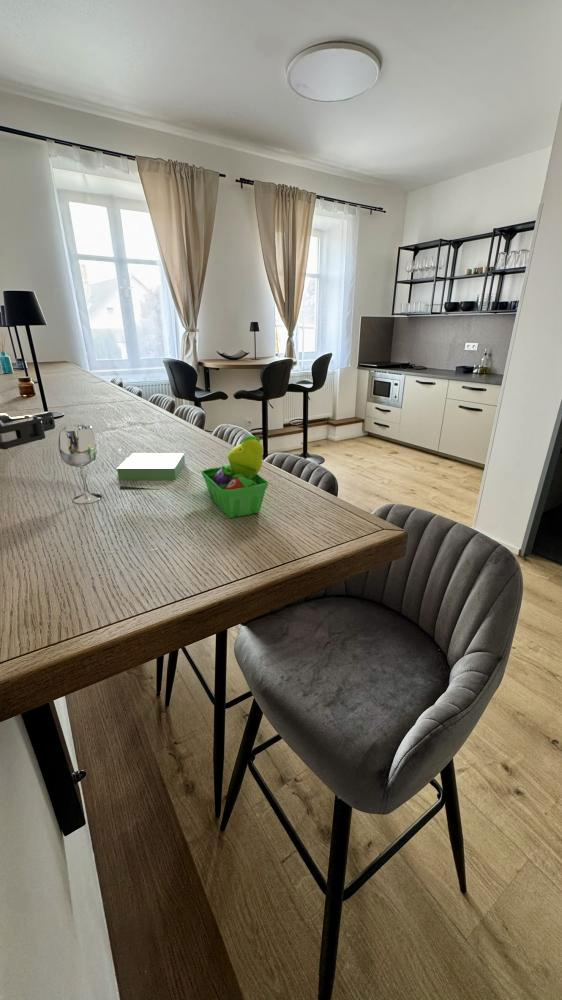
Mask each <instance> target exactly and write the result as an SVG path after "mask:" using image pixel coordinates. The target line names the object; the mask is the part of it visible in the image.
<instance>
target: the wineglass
mask: <svg viewBox="0 0 562 1000" xmlns="http://www.w3.org/2000/svg"><path fill="white" fill-rule="evenodd" d="M57 449H58V453H59V456H60V459H61V460H62V462H64V463H65V465H68V466H69V467H73V468H79V475H80V477H81V480H82V484H83V494H79V495H77V496H74V498H73V499H72V502H73V503H75V504H81V505H84V504H85V505H87V504H92V503H95V502H99V501H100V500H101V499H102V498H103V495H101V494H99V493H91V492H90V491H89V489H88V485H87V470H86V468H85V467H88V466H90V465H92V464H94V463H95V462H96V461H97V459H98V457H99V452H100V450H99V449H100V448H99V443H98V440H97V438H96V435H95V431H94V430H93V428H92V426H91V425H89V424H88V425H87V424H72V425H65V426H61V427H59V428H58V432H57Z"/></svg>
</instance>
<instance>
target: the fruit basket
mask: <svg viewBox="0 0 562 1000" xmlns="http://www.w3.org/2000/svg"><path fill="white" fill-rule="evenodd" d="M263 454H264V445H263V444H262V443H261V438H260V437H256V436H255V435H246V436H245V437H244V438H243V439H242V441H241V443H239V444H238V445H236V446H235V447H233V448H232V449H230V451H229V452H228V454H227V460H228V463H229V464H224V465H222V466H220V467H211V468H206V469H202V470H201V471H200V472H201V476H202V478H203V479H204V482H205V485H206V488H207V490H208V492H209V497H210V500H211V501H212V502H213V503H214V504H215V505H216V506H217V507H218V508H219V509H220V510H221V511H222V512H223V513H224V514H225V515H226V516H227V518H229V519H232V518H235V517H242V516H243V517H244V516H248V515H252V514H260V512H261V508H262V505H263V501H264V496H265V493H266V491H267V489H268V486H269V482H268V480H266V479H264V478H263V477H262V476H260V475H259V474H258V473H259V472H260V470H261V469H262V465H263Z"/></svg>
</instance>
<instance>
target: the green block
mask: <svg viewBox="0 0 562 1000" xmlns="http://www.w3.org/2000/svg"><path fill="white" fill-rule="evenodd" d="M185 461H186V459H185V453H184V452H183V453H181V452H177V453H176V452H172V453H171V452H170V453H169V452H164V453H161V452H159V453H158V452H156V453H155V452H154V453H153V452H152V453H151V452H150V453H149V452H148V453H147V452H144V453H143V452H141V453H140V452H139V453H138V452H134V453H132V454H130V456H129V457H127V458H126V459H125V460H124V461H123V462H122V463H121V464H120V465H119V466H117V468H116V472H117V478H118V481H176V480H177V479H178V477H179V475H180V473H181V472H182V470H183V468H184V466H185V465H186V462H185ZM119 490H120V491H140V490H141V491H143V490H144V491H145V490H149V491H150V490H151V491H152V490H160V489H158V488H149V487H139V486H138V487H136V486H127V485H126V486H125V485H119Z"/></svg>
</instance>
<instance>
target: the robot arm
mask: <svg viewBox="0 0 562 1000" xmlns="http://www.w3.org/2000/svg"><path fill="white" fill-rule="evenodd" d="M55 428H56V422H55V417H54V413H53V412H52V411H42V412H38V413H33V414H24V415H19V416H9V415H8V414H7V413H5V412H4V413H0V450H8V449H12V448H15V447H18V446H23V445H27V444H29V443H33V442H38V441H42V440H44V439H46V434H45V432H48V431H51V430H54V429H55Z"/></svg>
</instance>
